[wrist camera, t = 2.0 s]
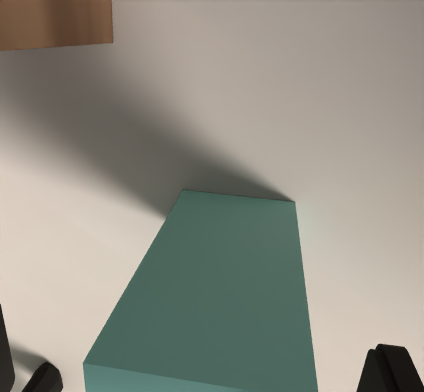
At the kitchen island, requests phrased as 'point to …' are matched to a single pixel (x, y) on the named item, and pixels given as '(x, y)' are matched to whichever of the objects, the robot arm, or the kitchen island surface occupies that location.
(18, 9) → the domino
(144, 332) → the domino
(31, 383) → the toy
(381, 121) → the kitchen island surface
